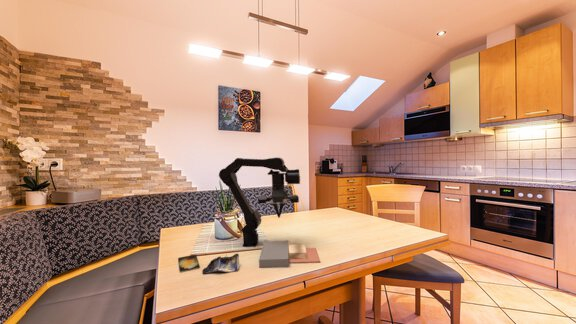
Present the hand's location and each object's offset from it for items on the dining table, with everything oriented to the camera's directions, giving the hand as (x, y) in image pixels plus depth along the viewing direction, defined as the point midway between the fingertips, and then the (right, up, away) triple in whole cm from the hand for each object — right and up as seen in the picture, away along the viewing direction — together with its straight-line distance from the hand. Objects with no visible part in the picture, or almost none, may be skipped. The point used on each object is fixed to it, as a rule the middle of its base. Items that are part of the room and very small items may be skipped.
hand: (279, 217), depth 111 cm
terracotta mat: (+11, -13, -13) cm, 21 cm away
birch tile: (+8, -13, -13) cm, 20 cm away
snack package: (-21, -14, -23) cm, 34 cm away
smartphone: (-35, -15, -17) cm, 42 cm away
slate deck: (-1, -13, -13) cm, 18 cm away
